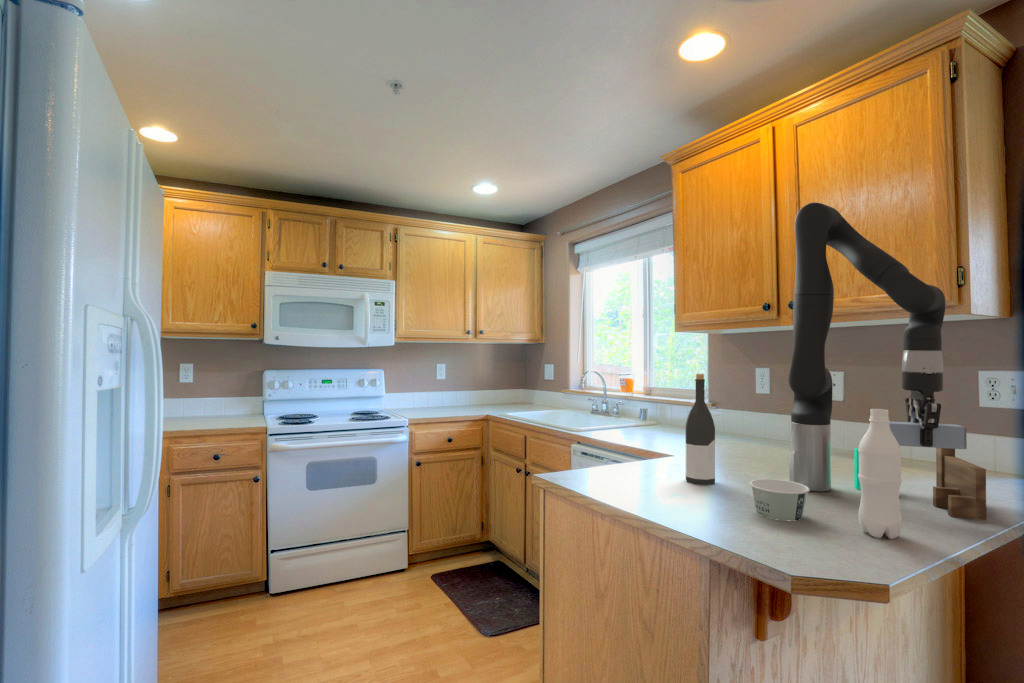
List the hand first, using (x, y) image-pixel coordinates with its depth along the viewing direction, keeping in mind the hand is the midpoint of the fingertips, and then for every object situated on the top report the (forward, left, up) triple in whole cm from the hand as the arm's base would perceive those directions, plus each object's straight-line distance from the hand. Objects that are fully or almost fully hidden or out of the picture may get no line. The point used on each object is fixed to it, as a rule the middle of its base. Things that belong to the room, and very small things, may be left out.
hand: (922, 444), depth 122 cm
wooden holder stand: (+7, +4, -15) cm, 17 cm away
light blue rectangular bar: (0, 0, 0) cm, 0 cm away
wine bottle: (-48, +11, -15) cm, 52 cm away
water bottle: (-15, -22, -15) cm, 31 cm away
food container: (-32, -14, -15) cm, 38 cm away
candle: (-6, +17, -15) cm, 24 cm away
